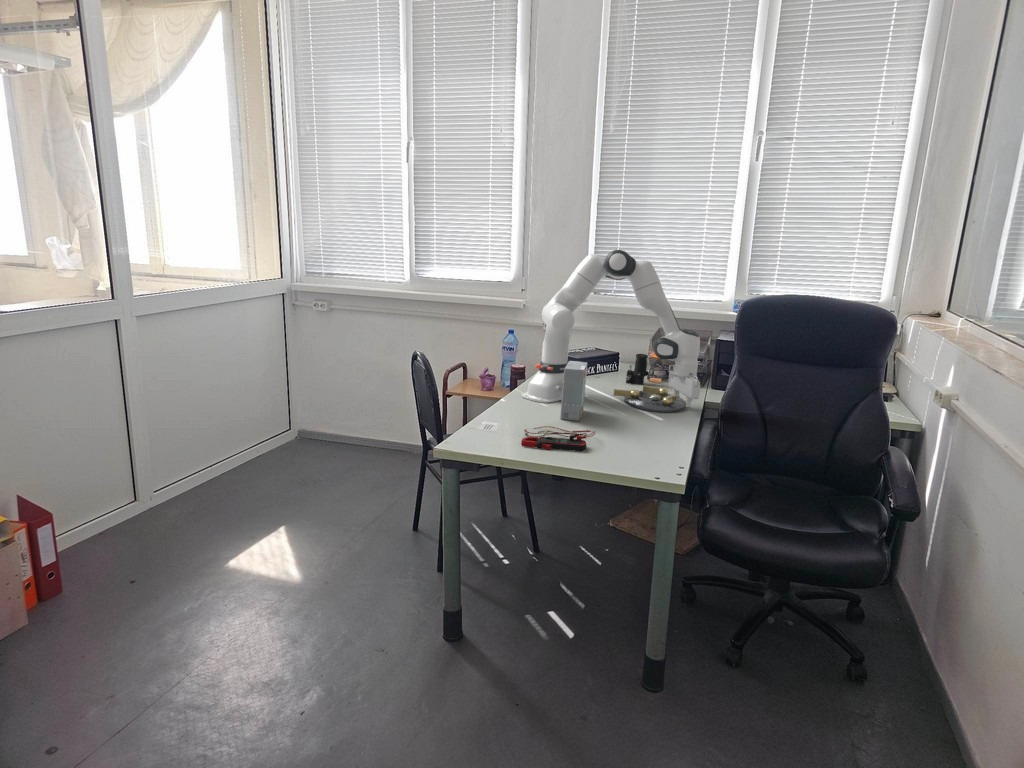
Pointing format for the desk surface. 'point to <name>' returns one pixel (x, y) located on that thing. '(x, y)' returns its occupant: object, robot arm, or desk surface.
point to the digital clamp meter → (557, 441)
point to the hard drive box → (573, 390)
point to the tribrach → (654, 403)
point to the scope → (638, 370)
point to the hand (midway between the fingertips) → (682, 403)
